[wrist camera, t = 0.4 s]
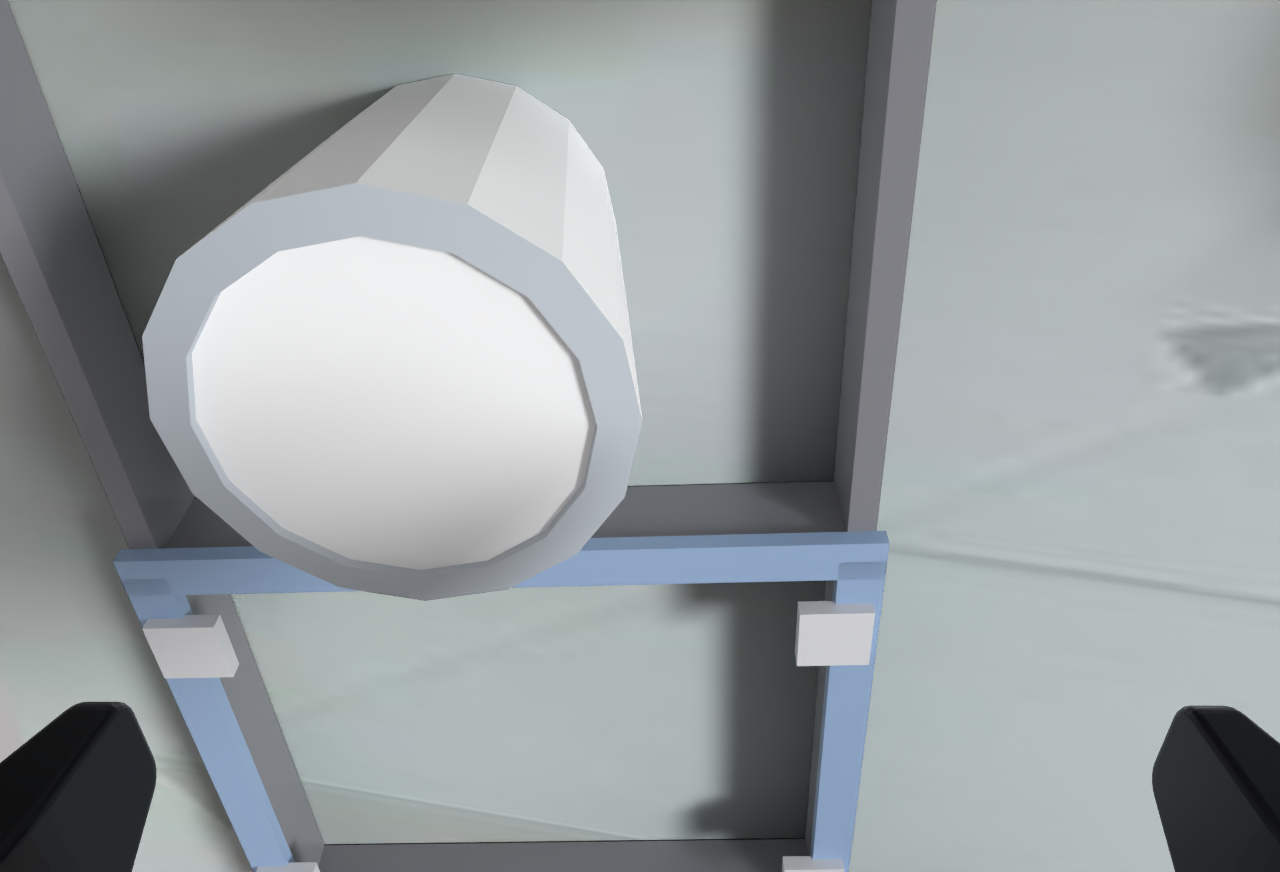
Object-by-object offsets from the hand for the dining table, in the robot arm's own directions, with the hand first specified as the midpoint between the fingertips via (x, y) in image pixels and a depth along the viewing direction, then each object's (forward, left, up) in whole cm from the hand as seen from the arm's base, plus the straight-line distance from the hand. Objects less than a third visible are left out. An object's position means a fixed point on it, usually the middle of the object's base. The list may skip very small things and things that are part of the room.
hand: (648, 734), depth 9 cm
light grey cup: (-1, +4, -13) cm, 14 cm away
